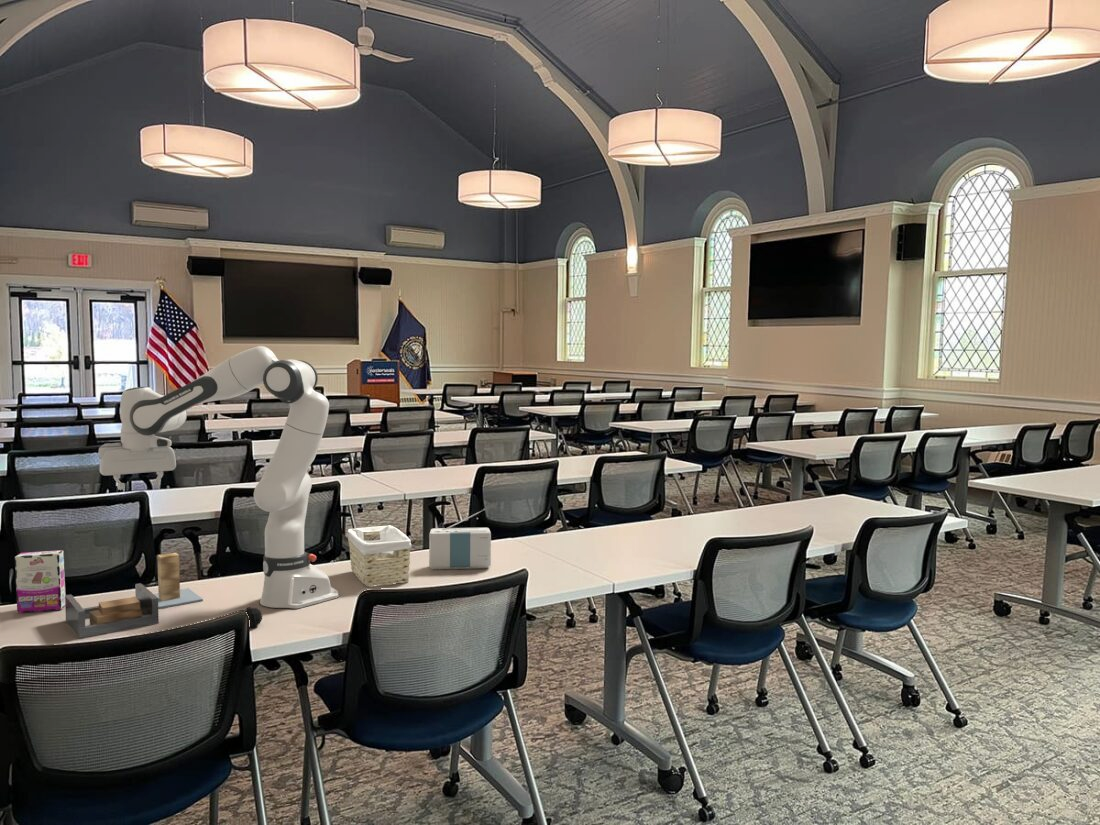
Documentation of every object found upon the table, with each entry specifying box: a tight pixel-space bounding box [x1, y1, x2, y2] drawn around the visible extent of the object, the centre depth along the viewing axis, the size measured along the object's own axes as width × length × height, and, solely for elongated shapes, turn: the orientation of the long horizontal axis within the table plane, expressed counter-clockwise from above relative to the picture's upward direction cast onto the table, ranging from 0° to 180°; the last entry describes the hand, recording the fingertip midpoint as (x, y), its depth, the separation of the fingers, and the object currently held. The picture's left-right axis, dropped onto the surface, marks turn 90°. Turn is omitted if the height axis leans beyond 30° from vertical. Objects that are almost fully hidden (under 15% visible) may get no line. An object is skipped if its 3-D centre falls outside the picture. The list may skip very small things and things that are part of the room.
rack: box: [64, 582, 160, 640], centre depth 220 cm, size 19×18×7 cm
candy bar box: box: [14, 549, 66, 614], centre depth 230 cm, size 11×5×16 cm, turn 106°
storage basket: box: [346, 524, 412, 587], centre depth 266 cm, size 24×16×15 cm
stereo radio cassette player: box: [428, 508, 492, 570], centre depth 279 cm, size 21×8×20 cm, turn 97°
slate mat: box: [153, 587, 204, 610], centre depth 240 cm, size 14×14×1 cm
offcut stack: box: [89, 596, 144, 625], centre depth 219 cm, size 12×7×6 cm, turn 132°
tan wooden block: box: [157, 552, 181, 601], centre depth 240 cm, size 5×4×13 cm
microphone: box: [244, 606, 263, 629], centre depth 214 cm, size 6×6×20 cm
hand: (139, 487), depth 240 cm, fingers open, 8 cm apart
